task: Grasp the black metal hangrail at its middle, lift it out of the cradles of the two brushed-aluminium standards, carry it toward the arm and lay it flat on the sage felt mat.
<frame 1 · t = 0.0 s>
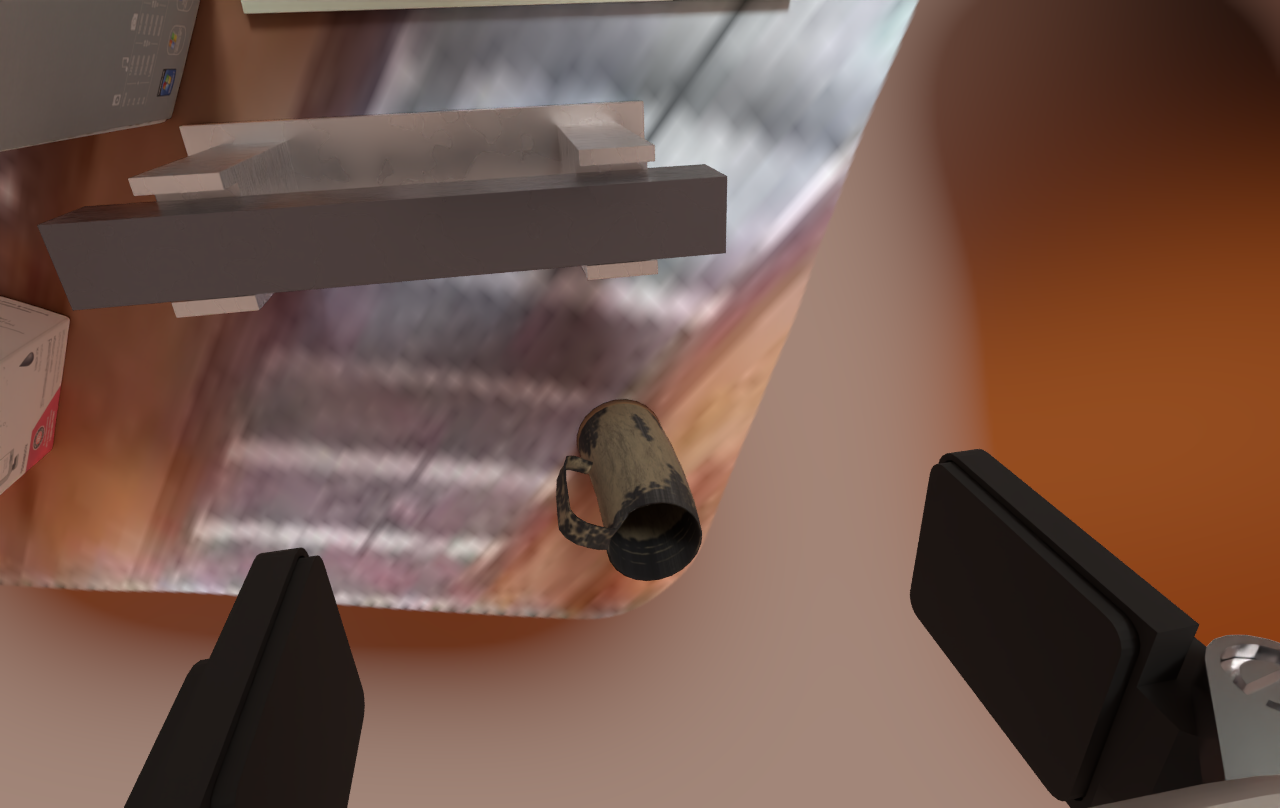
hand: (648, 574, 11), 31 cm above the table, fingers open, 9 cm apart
mug: (604, 431, 46), on the table
ink box: (12, 371, 37), on the table
rack: (435, 184, 37), on the table
rail: (421, 221, 29), point 9 cm above the table, touching rack
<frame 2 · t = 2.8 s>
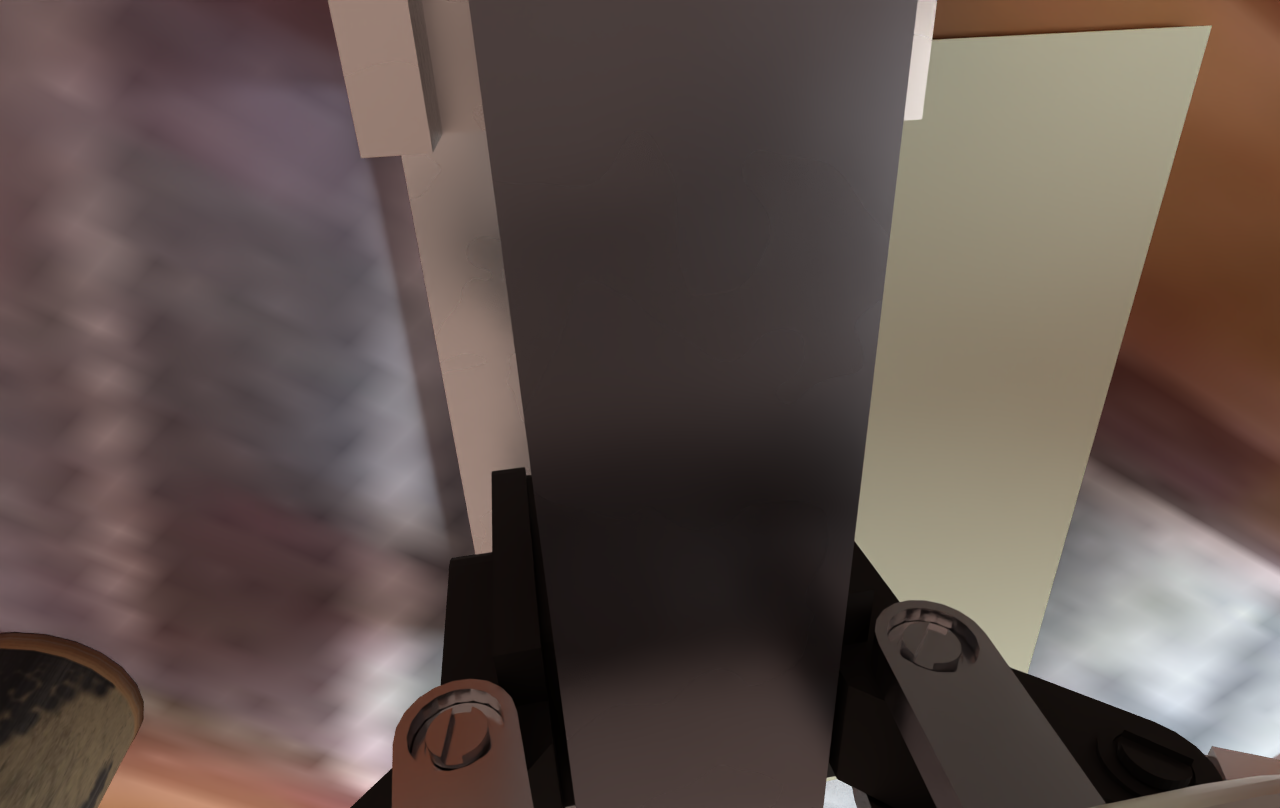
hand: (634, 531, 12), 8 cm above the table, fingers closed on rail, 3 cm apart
mug: (42, 674, 20), on the table
rack: (581, 354, 19), on the table
rail: (649, 578, 11), point 9 cm above the table, touching gripper, rack
mat: (961, 482, 23), on the table
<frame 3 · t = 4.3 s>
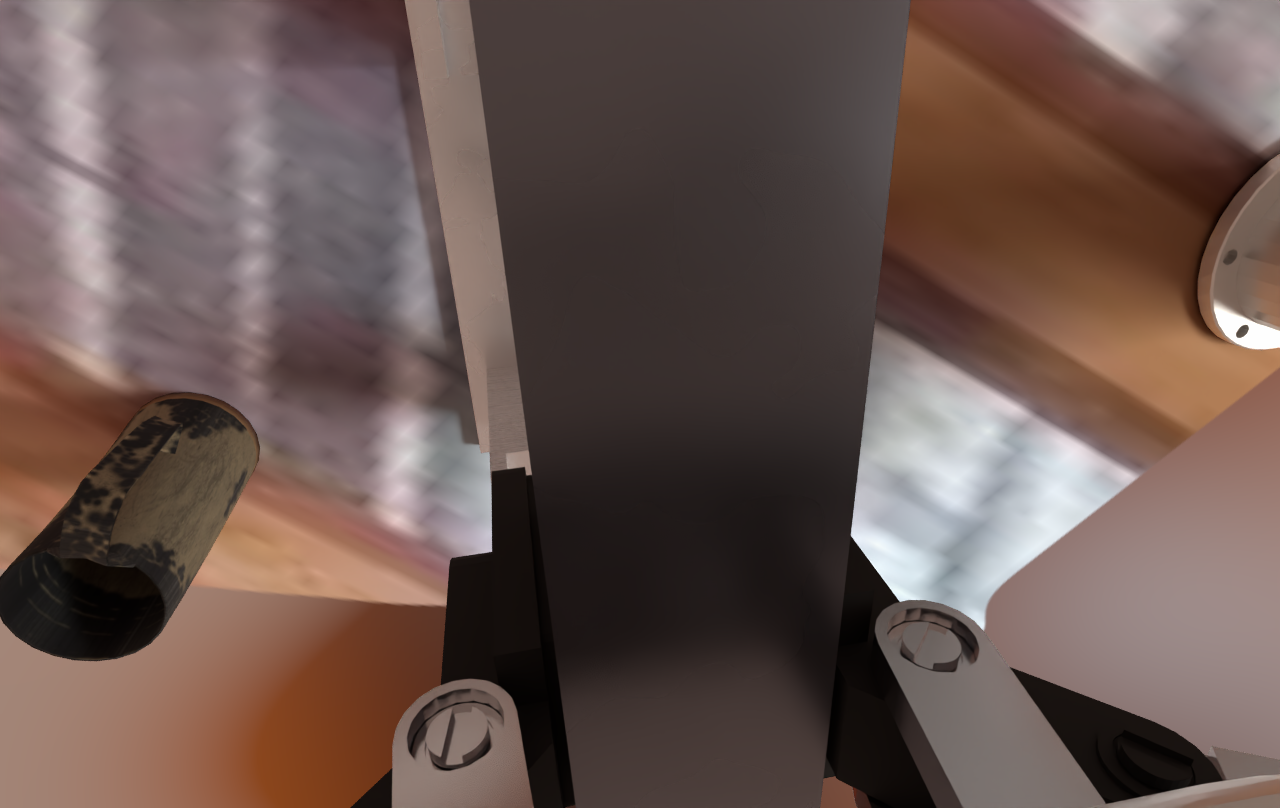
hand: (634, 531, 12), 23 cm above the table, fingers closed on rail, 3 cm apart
mug: (201, 424, 33), on the table
rack: (524, 224, 32), on the table
rail: (648, 575, 11), point 24 cm above the table, touching gripper
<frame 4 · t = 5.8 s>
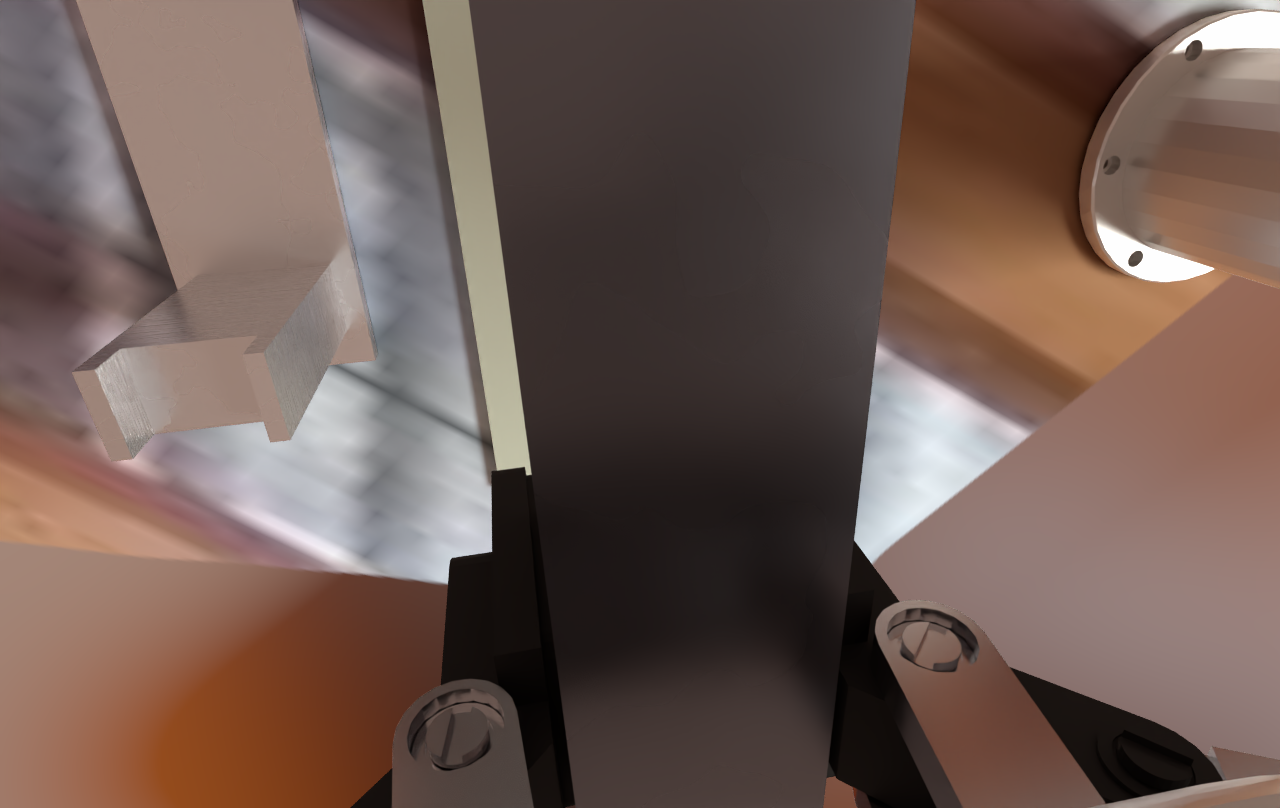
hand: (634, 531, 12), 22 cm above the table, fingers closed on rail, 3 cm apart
rack: (222, 97, 27), on the table
rail: (649, 579, 11), point 24 cm above the table, touching gripper
mat: (552, 228, 32), on the table
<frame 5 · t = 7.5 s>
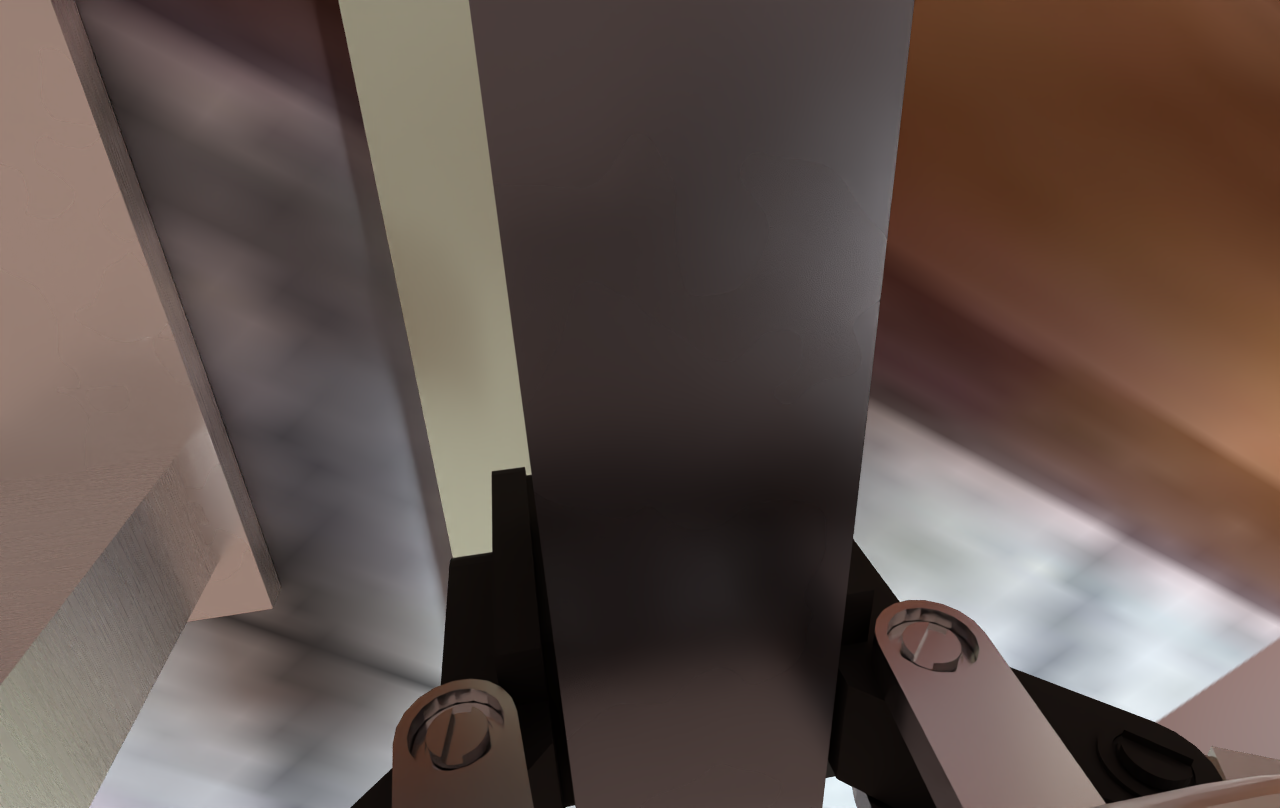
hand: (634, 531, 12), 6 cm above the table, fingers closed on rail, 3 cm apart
rail: (649, 578, 11), point 8 cm above the table, touching gripper
mat: (590, 375, 18), on the table
when the fingers open (1 cm above the table, at t = 8.8 s): rail drops 1 cm, resting on mat.
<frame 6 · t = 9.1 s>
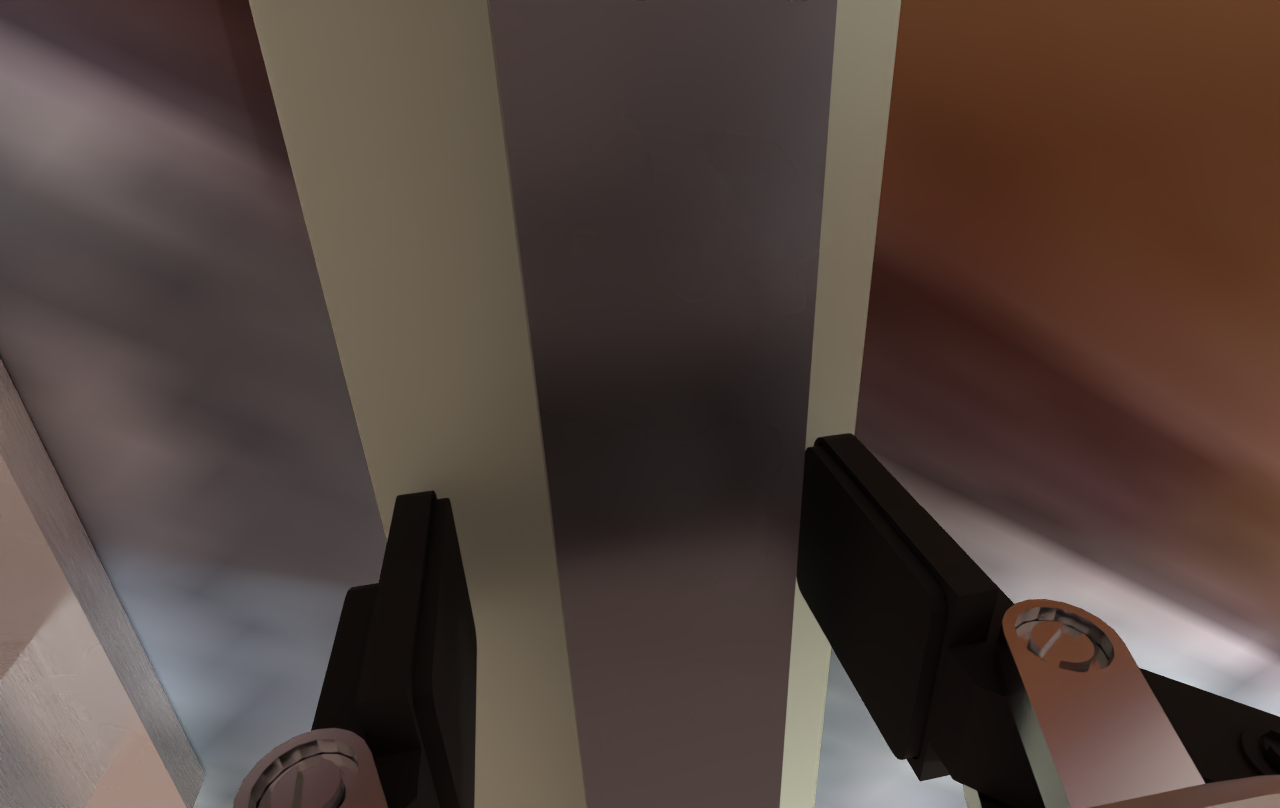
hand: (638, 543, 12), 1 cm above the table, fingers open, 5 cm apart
rail: (639, 517, 12), point 1 cm above the table, touching mat
mat: (624, 498, 13), on the table
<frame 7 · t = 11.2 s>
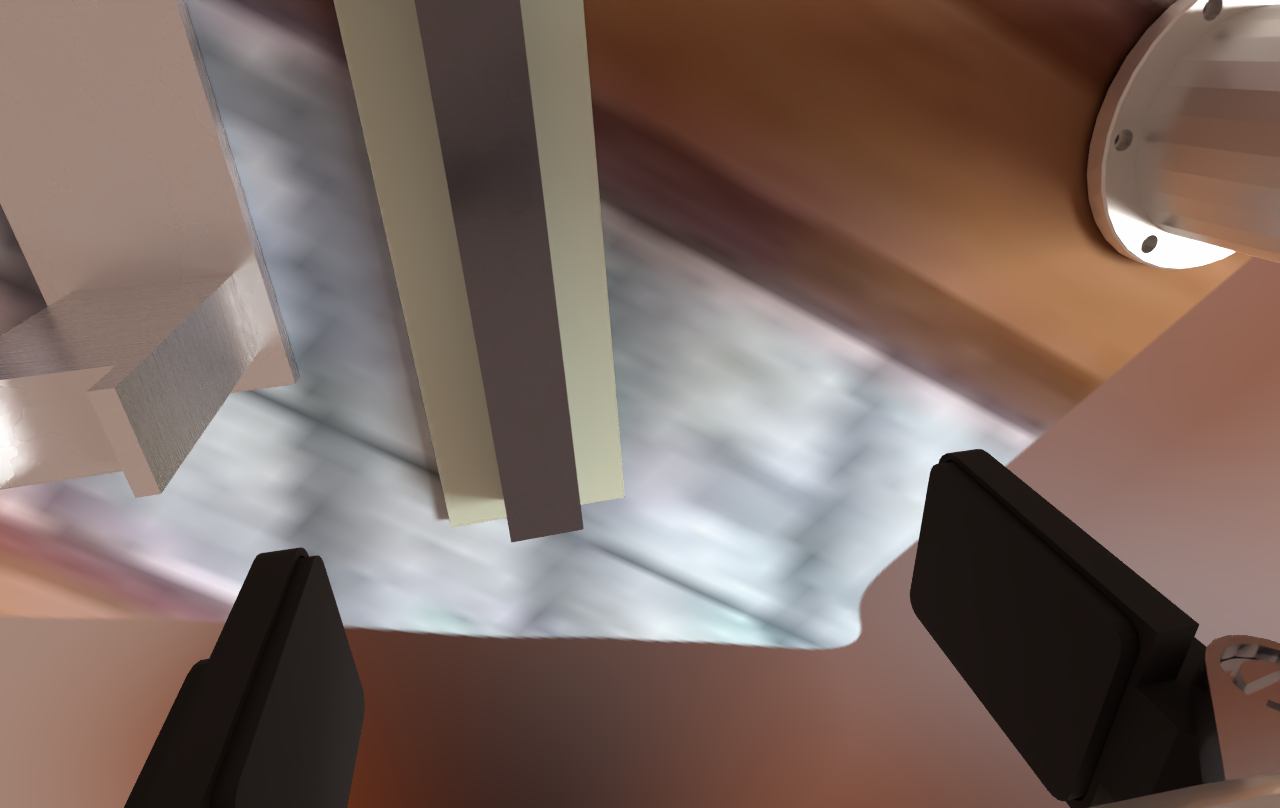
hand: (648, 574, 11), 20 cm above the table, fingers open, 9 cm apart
rack: (87, 78, 23), on the table
rail: (501, 229, 27), point 1 cm above the table, touching mat
mat: (496, 225, 27), on the table
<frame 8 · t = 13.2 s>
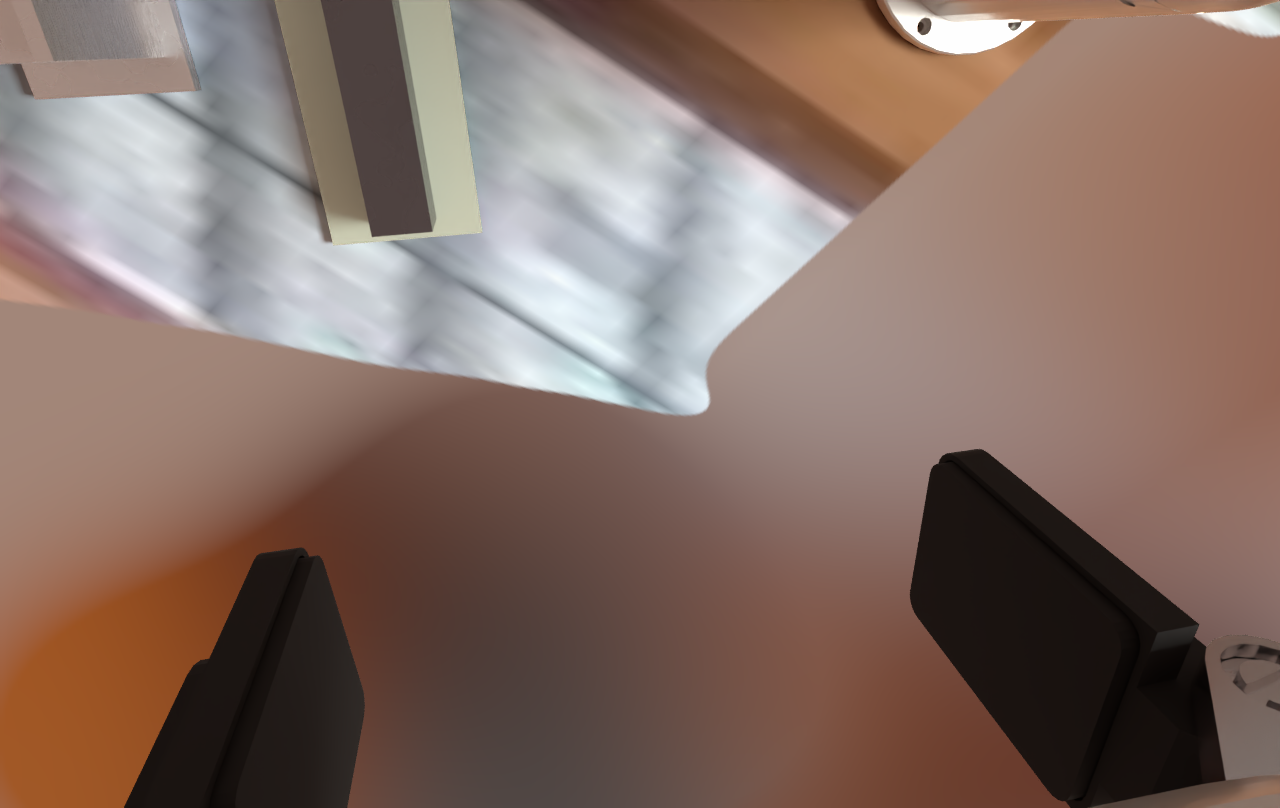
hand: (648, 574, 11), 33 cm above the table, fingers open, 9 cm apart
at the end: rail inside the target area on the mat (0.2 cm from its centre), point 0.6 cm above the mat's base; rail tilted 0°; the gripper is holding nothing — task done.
